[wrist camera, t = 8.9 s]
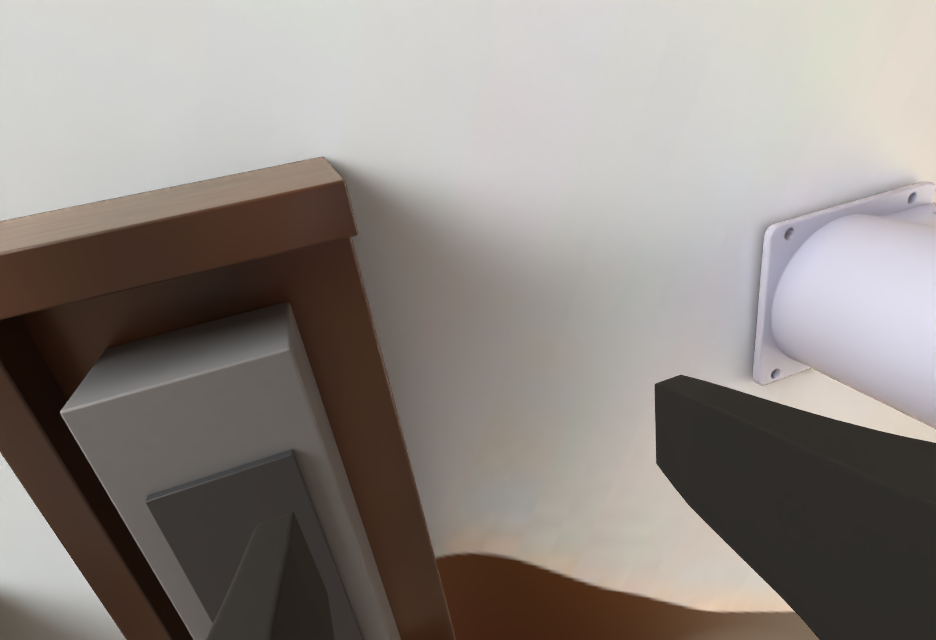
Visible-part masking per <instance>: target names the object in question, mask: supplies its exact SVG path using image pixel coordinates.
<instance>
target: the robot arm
mask: <svg viewBox="0 0 936 640" xmlns="http://www.w3.org/2000/svg"><path fill="white" fill-rule="evenodd" d="M935 192H936V186H935V184H934V183H933V182H919V183H916V184H912V185H909V186H905V187H902V188H898V189H895V190H891V191H888V192H884V193H881V194H877V195H873V196H870V197H866V198H863V199H859V200H856V201H852V202H849V203H845V204H842V205H838V206H835V207H831V208H828V209H824V210H821V211H817V212H814V213H810V214H806V215H803V216H799V217H796V218H792V219H789V220H785V221H782V222H778V223H775V224H773V225H771V226H770V227H769V228H768V229H767V230H766V232H765V234H764V241H763V254H762V266H761V278H760V291H759V303H758V315H757V328H756V340H755V352H754V365H753V380H754V382H756V383H757V384H759V385H767V384H769V383H772V382H775V381H778V380H780V379H783V378H786V377H788V376H791V375H794V374H797V373H799V372H802V371H805V370H808V369H810V368H813V369H815V370H817V371H819V372H821V373H823V374H825V375H827V376H829V377H831V378H833V379H835V380H837V381H839V382H841V383H843V384H845V385H847V386H849V387H851V388H853V389H855V390H857V391H859V392H862V393H864V394H866V395H868V396H870V397H872V398H874V399H876V400H878V401H880V402H882V403H884V404H886V405H888V406H890V407H892V408H894V409H896V410H898V411H900V412H902V413H904V414H906V415H908V416H910V417H912V418H914V419H917V420H919V421H921V422H923V423H925V424H927V425H929V426H931V427H933V428H935V429H936V204H933V202H934V197H935ZM785 232H786V234H785ZM655 421H656V464H657V465H658V466H659V468H660V469H661V470H662V472H663V473H664V474H665V476H666V477H667V478H668V479H669V481H670V482H671V483H672V485H673V486H674V487H675V489H676V490H677V491H678V492H679V494H680V495H681V496H682V497H683V498H684V500H685V501H686V502H687V503H688V505H689V506H690V507H691V508H692V509H693V510H694V511H695V512H696V513H697V514H698V515H699V516H700V517H701V518H702V519H703V520H704V521H705V522H706V523H707V524H708V525H709V526H710V527H711V528H712V529H713V530H714V531H715V532H716V533H717V534H718V535H719V536H720V537H721V538H722V539H723V540H724V541H725V542H726V543H727V544H728V545H729V546H730V547H731V548H732V549H733V550H734V551H735V552H736V553H737V554H738V555H739V556H740V557H741V558H742V559H743V560H744V561H745V562H746V563H747V564H748V565H749V566H750V567H751V568H752V569H753V570H754V571H755V572H756V573H757V574H758V575H759V576H761V577H762V578H763V579H764V580H765V581H766V582H767V583H768V584H769V585H770V586H771V587H772V588H773V589H774V590H775V591H776V592H777V593H778V594H779V595H780V596H781V597H782V598H783V599H784V600H785V602H786V603H787V604H788V605H789V606H790V607H791V608H792V609H793V610H794V611H795V612H796V613H797V614H798V615H799V616H800V617H801V618H802V620H803V621H804V622H805V623H806V624H807V625H808V627H809V628H810V629H811V630H812V631H813V632H814V633H815V635H816V636H817V637H818V638H819V639H820V640H936V443H933V442H928V441H923V440H918V439H913V438H908V437H903V436H899V435H894V434H890V433H886V432H881V431H877V430H873V429H869V428H865V427H862V426H858V425H854V424H850V423H846V422H842V421H838V420H834V419H831V418H827V417H824V416H820V415H816V414H813V413H809V412H806V411H803V410H799V409H796V408H792V407H789V406H786V405H782V404H779V403H776V402H772V401H769V400H766V399H762V398H759V397H756V396H753V395H750V394H746V393H743V392H740V391H737V390H733V389H730V388H727V387H723V386H720V385H717V384H713V383H710V382H706V381H703V380H699V379H696V378H692V377H688V376H683V375H679V376H676V377H673V378H670V379H667V380H665V381H662V382H659V383H656V384H655ZM205 640H335V639H334V632H333V625H332V619H331V612H330V606H329V599H328V593H327V590H326V588H325V585H324V583H323V580H322V578H321V576H320V573H319V571H318V568H317V566H316V564H315V561H314V559H313V556H312V554H311V552H310V549H309V547H308V544H307V542H306V540H305V537H304V535H303V532H302V530H301V528H300V525H299V523H298V520H297V518H296V516H295V513H294V512H291V513H288V514H286V515H283V516H280V517H277V518H274V519H271V520H269V521H266V522H263V523H260V524H258V525H257V526H256V528H255V529H254V531H253V533H252V536H251V538H250V540H249V543H248V545H247V548H246V550H245V552H244V555H243V557H242V560H241V562H240V564H239V567H238V569H237V572H236V574H235V576H234V578H233V581H232V583H231V585H230V588H229V590H228V592H227V594H226V597H225V599H224V601H223V603H222V605H221V608H220V610H219V612H218V614H217V616H216V618H215V620H214V622H213V625H212V627H211V629H210V631H209V633H208V635H207V637H206V639H205Z"/></svg>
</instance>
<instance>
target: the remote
mask: <svg viewBox="0 0 936 640" xmlns="http://www.w3.org/2000/svg"><path fill="white" fill-rule="evenodd" d="M60 414H61V416H62V418H63V419H64V421H65V423H66V424H67V426H68V428H69V430H70V431H71V433H72V435H73V436H74V438H75V440H76V441H77V443H78V445H79V446H80V448H81V450H82V452H83V453H84V455H85V457H86V458H87V460H88V462H89V463H90V465H91V467H92V468H93V470H94V472H95V474H96V475H97V477H98V479H99V480H100V482H101V484H102V485H103V487H104V489H105V490H106V492H107V494H108V496H109V497H110V499H111V501H112V502H113V504H114V506H115V507H116V509H117V511H118V512H119V514H120V516H121V518H122V519H123V521H124V523H125V524H126V526H127V528H128V529H129V531H130V533H131V535H132V536H133V538H134V540H135V541H136V543H137V545H138V546H139V548H140V550H141V551H142V553H143V555H144V557H145V558H146V560H147V562H148V563H149V565H150V567H151V568H152V570H153V572H154V573H155V575H156V577H157V579H158V580H159V582H160V584H161V585H162V587H163V589H164V590H165V592H166V594H167V595H168V597H169V599H170V601H171V602H172V604H173V606H174V607H175V609H176V611H177V612H178V614H179V616H180V618H181V619H182V621H183V623H184V624H185V626H186V628H187V629H188V631H189V633H190V634H191V636H192V638H193V640H205V639H206V637H207V635H208V633H209V631H210V629H211V627H212V625H213V622H214V620H215V618H216V616H217V614H218V612H219V610H220V608H221V605H222V603H223V601H224V599H225V597H226V594H227V592H228V590H229V588H230V585H231V583H232V581H233V578H234V576H235V574H236V572H237V569H238V567H239V564H240V562H241V560H242V557H243V555H244V552H245V550H246V548H247V545H248V543H249V540H250V538H251V536H252V533H253V531H254V529H255V528H256V526H257V525H258V524H260V523H263V522H266V521H269V520H271V519H274V518H277V517H280V516H283V515H286V514H288V513H291V512H294V513H295V516H296V518H297V520H298V523H299V525H300V528H301V530H302V532H303V535H304V537H305V540H306V542H307V544H308V547H309V549H310V552H311V554H312V556H313V559H314V561H315V564H316V566H317V568H318V571H319V573H320V576H321V578H322V580H323V583H324V585H325V588H326V590H327V593H328V599H329V606H330V612H331V619H332V625H333V632H334V639H335V640H401V637H400V634H399V631H398V628H397V625H396V622H395V619H394V616H393V613H392V610H391V607H390V604H389V601H388V598H387V595H386V592H385V589H384V586H383V583H382V580H381V577H380V574H379V571H378V568H377V565H376V562H375V559H374V556H373V553H372V550H371V547H370V544H369V541H368V538H367V535H366V532H365V529H364V526H363V523H362V520H361V517H360V514H359V511H358V508H357V505H356V502H355V499H354V495H353V492H352V489H351V486H350V483H349V480H348V477H347V474H346V471H345V468H344V465H343V462H342V459H341V456H340V453H339V450H338V447H337V444H336V441H335V438H334V435H333V432H332V429H331V426H330V423H329V420H328V417H327V414H326V411H325V408H324V405H323V402H322V399H321V396H320V393H319V390H318V387H317V384H316V381H315V378H314V375H313V372H312V369H311V366H310V363H309V360H308V357H307V353H306V350H305V347H304V344H303V341H302V338H301V335H300V332H299V329H298V326H297V323H296V320H295V317H294V314H293V311H292V308H291V305H290V303H289V302H284V303H280V304H276V305H273V306H269V307H265V308H261V309H257V310H253V311H249V312H245V313H242V314H238V315H234V316H230V317H226V318H222V319H218V320H214V321H211V322H207V323H203V324H199V325H195V326H191V327H187V328H183V329H180V330H176V331H172V332H168V333H164V334H160V335H156V336H153V337H149V338H145V339H141V340H137V341H133V342H129V343H125V344H122V345H118V346H114V347H110V348H107V349H106V350H105V351H104V352H103V354H102V355H101V356H100V358H99V359H98V361H97V362H96V363H95V365H94V366H93V367H92V369H91V370H90V371H89V373H88V374H87V376H86V377H85V378H84V380H83V381H82V382H81V384H80V385H79V386H78V388H77V389H76V391H75V392H74V393H73V395H72V396H71V397H70V399H69V400H68V401H67V403H66V404H65V405H64V407H63V408H62V410H61V411H60Z"/></svg>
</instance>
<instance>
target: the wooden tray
mask: <svg viewBox="0 0 936 640" xmlns="http://www.w3.org/2000/svg"><path fill="white" fill-rule="evenodd" d="M356 235H358V230H357V226H356V222H355V218H354V214H353V210H352V206H351V202H350V198H349V194H348V190H347V187H346V183H345V181H344V180H343V179H342V177H341V176H340V175H339V174H338V173H337V172H336V170H335V169H334V168H333V167H332V166H331V164H330V163H329V162H328V161H327V160H326V159H325V157H318V158H313V159H308V160H303V161H298V162H293V163H288V164H283V165H278V166H273V167H268V168H263V169H258V170H253V171H248V172H243V173H238V174H233V175H228V176H223V177H218V178H213V179H208V180H203V181H198V182H193V183H189V184H184V185H179V186H174V187H169V188H164V189H159V190H154V191H149V192H144V193H139V194H134V195H129V196H124V197H119V198H114V199H109V200H104V201H99V202H94V203H89V204H84V205H79V206H74V207H69V208H64V209H59V210H54V211H49V212H44V213H39V214H34V215H29V216H24V217H19V218H14V219H9V220H4V221H0V452H1V454H2V455H3V457H4V458H5V460H6V461H7V463H8V464H9V466H10V467H11V469H12V470H13V472H14V473H15V475H16V476H17V478H18V479H19V481H20V482H21V484H22V485H23V487H24V488H25V490H26V491H27V493H28V494H29V495H30V497H31V498H32V500H33V501H34V503H35V504H36V506H37V507H38V509H39V510H40V512H41V513H42V515H43V516H44V518H45V519H46V521H47V522H48V524H49V525H50V527H51V528H52V530H53V531H54V533H55V534H56V536H57V537H58V539H59V540H60V541H61V543H62V544H63V546H64V547H65V549H66V550H67V552H68V553H69V555H70V556H71V558H72V559H73V561H74V562H75V564H76V565H77V567H78V568H79V570H80V571H81V573H82V574H83V576H84V577H85V579H86V580H87V582H88V583H89V585H90V586H91V587H92V589H93V590H94V592H95V593H96V595H97V596H98V598H99V599H100V601H101V602H102V604H103V605H104V607H105V608H106V610H107V611H108V613H109V614H110V616H111V617H112V619H113V620H114V622H115V623H116V625H117V626H118V628H119V629H120V631H121V632H122V633H123V635H124V636H125V638H126V639H127V640H193V638H192V636H191V634H190V633H189V631H188V629H187V628H186V626H185V624H184V623H183V621H182V619H181V618H180V616H179V614H178V612H177V611H176V609H175V607H174V606H173V604H172V602H171V601H170V599H169V597H168V595H167V594H166V592H165V590H164V589H163V587H162V585H161V584H160V582H159V580H158V579H157V577H156V575H155V573H154V572H153V570H152V568H151V567H150V565H149V563H148V562H147V560H146V558H145V557H144V555H143V553H142V551H141V550H140V548H139V546H138V545H137V543H136V541H135V540H134V538H133V536H132V535H131V533H130V531H129V529H128V528H127V526H126V524H125V523H124V521H123V519H122V518H121V516H120V514H119V512H118V511H117V509H116V507H115V506H114V504H113V502H112V501H111V499H110V497H109V496H108V494H107V492H106V490H105V489H104V487H103V485H102V484H101V482H100V480H99V479H98V477H97V475H96V474H95V472H94V470H93V468H92V467H91V465H90V463H89V462H88V460H87V458H86V457H85V455H84V453H83V452H82V450H81V448H80V446H79V445H78V443H77V441H76V440H75V438H74V436H73V435H72V433H71V431H70V430H69V428H68V426H67V424H66V423H65V421H64V419H63V418H62V416H61V414H60V411H61V410H62V408H63V407H64V405H65V404H66V403H67V401H68V400H69V399H70V397H71V396H72V395H73V393H74V392H75V391H76V389H77V388H78V386H79V385H80V384H81V382H82V381H83V380H84V378H85V377H86V376H87V374H88V373H89V371H90V370H91V369H92V367H93V366H94V365H95V363H96V362H97V361H98V359H99V358H100V356H101V355H102V354H103V352H104V351H105V350H106V349H107V348H110V347H114V346H118V345H122V344H125V343H129V342H133V341H137V340H141V339H145V338H149V337H153V336H156V335H160V334H164V333H168V332H172V331H176V330H180V329H183V328H187V327H191V326H195V325H199V324H203V323H207V322H211V321H214V320H218V319H222V318H226V317H230V316H234V315H238V314H242V313H245V312H249V311H253V310H257V309H261V308H265V307H269V306H273V305H276V304H280V303H284V302H289V303H290V305H291V308H292V311H293V314H294V317H295V320H296V323H297V326H298V329H299V332H300V335H301V338H302V341H303V344H304V347H305V350H306V353H307V357H308V360H309V363H310V366H311V369H312V372H313V375H314V378H315V381H316V384H317V387H318V390H319V393H320V396H321V399H322V402H323V405H324V408H325V411H326V414H327V417H328V420H329V423H330V426H331V429H332V432H333V435H334V438H335V441H336V444H337V447H338V450H339V453H340V456H341V459H342V462H343V465H344V468H345V471H346V474H347V477H348V480H349V483H350V486H351V489H352V492H353V495H354V499H355V502H356V505H357V508H358V511H359V514H360V517H361V520H362V523H363V526H364V529H365V532H366V535H367V538H368V541H369V544H370V547H371V550H372V553H373V556H374V559H375V562H376V565H377V568H378V571H379V574H380V577H381V580H382V583H383V586H384V589H385V592H386V595H387V598H388V601H389V604H390V607H391V610H392V613H393V616H394V619H395V622H396V625H397V628H398V631H399V634H400V637H401V640H457V639H456V636H455V632H454V628H453V624H452V620H451V617H450V613H449V609H448V605H447V601H446V597H445V594H444V590H443V586H442V582H441V578H440V574H439V571H438V567H437V563H436V559H435V555H434V552H433V548H432V544H431V540H430V536H429V532H428V529H427V525H426V521H425V517H424V513H423V509H422V506H421V502H420V498H419V494H418V490H417V487H416V483H415V479H414V475H413V471H412V467H411V464H410V460H409V456H408V452H407V448H406V445H405V441H404V437H403V433H402V429H401V425H400V422H399V418H398V414H397V410H396V406H395V403H394V399H393V395H392V391H391V387H390V383H389V380H388V376H387V372H386V368H385V364H384V360H383V357H382V353H381V349H380V345H379V341H378V338H377V334H376V330H375V326H374V322H373V318H372V315H371V311H370V307H369V303H368V299H367V296H366V292H365V288H364V284H363V280H362V276H361V273H360V269H359V265H358V261H357V257H356V254H355V250H354V246H353V242H352V238H351V237H353V236H356Z"/></svg>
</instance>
